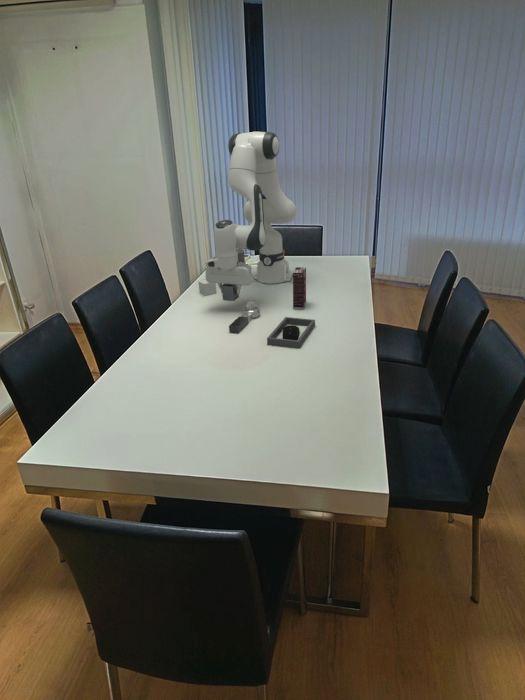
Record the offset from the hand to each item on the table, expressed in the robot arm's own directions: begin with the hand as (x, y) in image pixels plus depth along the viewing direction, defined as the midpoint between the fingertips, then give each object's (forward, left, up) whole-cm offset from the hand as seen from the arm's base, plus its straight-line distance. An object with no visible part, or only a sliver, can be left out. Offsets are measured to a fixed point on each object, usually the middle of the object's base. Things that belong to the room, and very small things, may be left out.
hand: (230, 293), depth 205 cm
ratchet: (+12, +11, -7) cm, 18 cm away
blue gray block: (0, 0, -2) cm, 2 cm away
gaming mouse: (+21, +33, -8) cm, 40 cm away
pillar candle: (-44, -17, -8) cm, 48 cm away
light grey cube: (-17, -20, -8) cm, 27 cm away
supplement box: (-11, +27, -8) cm, 30 cm away
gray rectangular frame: (+19, +33, -7) cm, 39 cm away
